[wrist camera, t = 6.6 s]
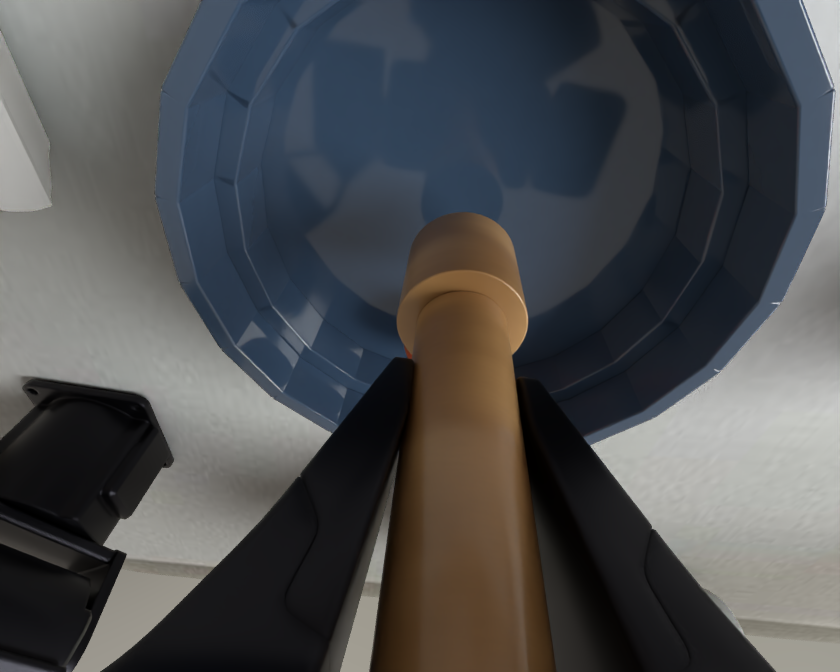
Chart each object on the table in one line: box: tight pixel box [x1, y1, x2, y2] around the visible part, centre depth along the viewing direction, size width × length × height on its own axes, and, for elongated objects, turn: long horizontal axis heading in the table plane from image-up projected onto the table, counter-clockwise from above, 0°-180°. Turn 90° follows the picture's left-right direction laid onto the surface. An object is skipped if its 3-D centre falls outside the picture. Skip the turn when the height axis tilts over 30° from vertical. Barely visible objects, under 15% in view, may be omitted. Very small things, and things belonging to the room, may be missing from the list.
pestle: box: [369, 212, 557, 672], centre depth 8 cm, size 3×3×12 cm
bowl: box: [155, 0, 836, 445], centre depth 13 cm, size 16×16×4 cm
